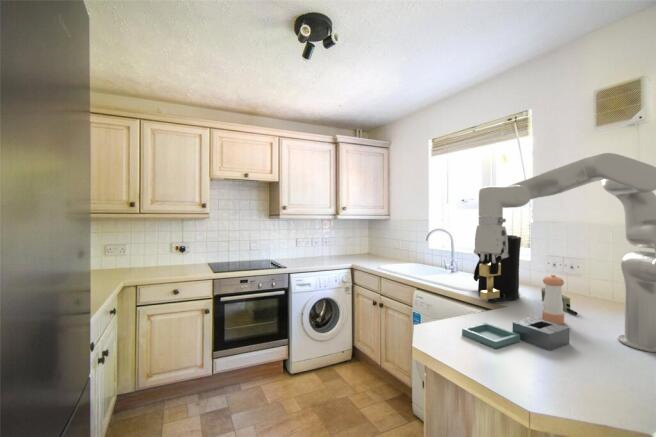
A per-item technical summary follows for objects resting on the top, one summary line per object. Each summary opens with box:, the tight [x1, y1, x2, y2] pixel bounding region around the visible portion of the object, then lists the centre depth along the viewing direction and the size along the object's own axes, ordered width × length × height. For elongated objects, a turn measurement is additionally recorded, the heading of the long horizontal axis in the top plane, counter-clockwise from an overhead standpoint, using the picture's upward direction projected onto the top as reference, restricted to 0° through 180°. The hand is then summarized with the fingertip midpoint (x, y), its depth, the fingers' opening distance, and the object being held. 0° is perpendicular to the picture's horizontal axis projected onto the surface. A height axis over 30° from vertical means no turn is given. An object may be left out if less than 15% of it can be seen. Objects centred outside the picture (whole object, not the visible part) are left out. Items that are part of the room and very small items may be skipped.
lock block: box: [512, 316, 570, 352], centre depth 105 cm, size 12×12×6 cm
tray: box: [461, 322, 521, 350], centre depth 107 cm, size 13×13×2 cm
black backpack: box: [473, 234, 522, 303], centre depth 163 cm, size 23×32×34 cm
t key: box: [479, 263, 501, 301], centre depth 106 cm, size 8×2×12 cm, turn 116°
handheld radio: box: [541, 287, 578, 316], centre depth 143 cm, size 7×3×25 cm
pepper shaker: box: [541, 274, 565, 325], centre depth 124 cm, size 7×7×19 cm
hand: (490, 272), depth 106 cm, fingers closed on t key, 2 cm apart
